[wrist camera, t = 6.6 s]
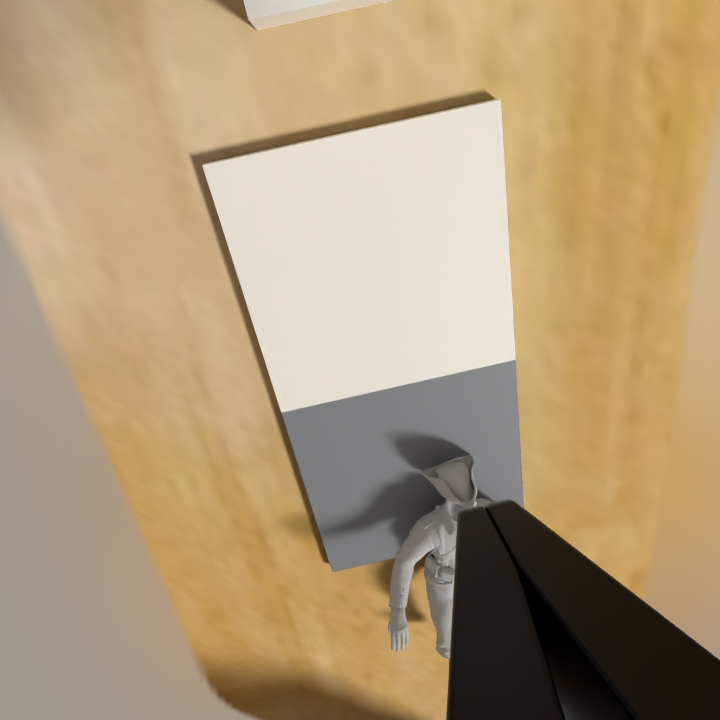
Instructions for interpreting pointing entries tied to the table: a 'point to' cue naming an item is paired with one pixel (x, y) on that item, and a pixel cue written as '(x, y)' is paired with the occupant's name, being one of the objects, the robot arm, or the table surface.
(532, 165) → the table surface
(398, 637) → the soldier figure
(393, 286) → the board
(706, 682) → the robot arm
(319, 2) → the die
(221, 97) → the table surface
